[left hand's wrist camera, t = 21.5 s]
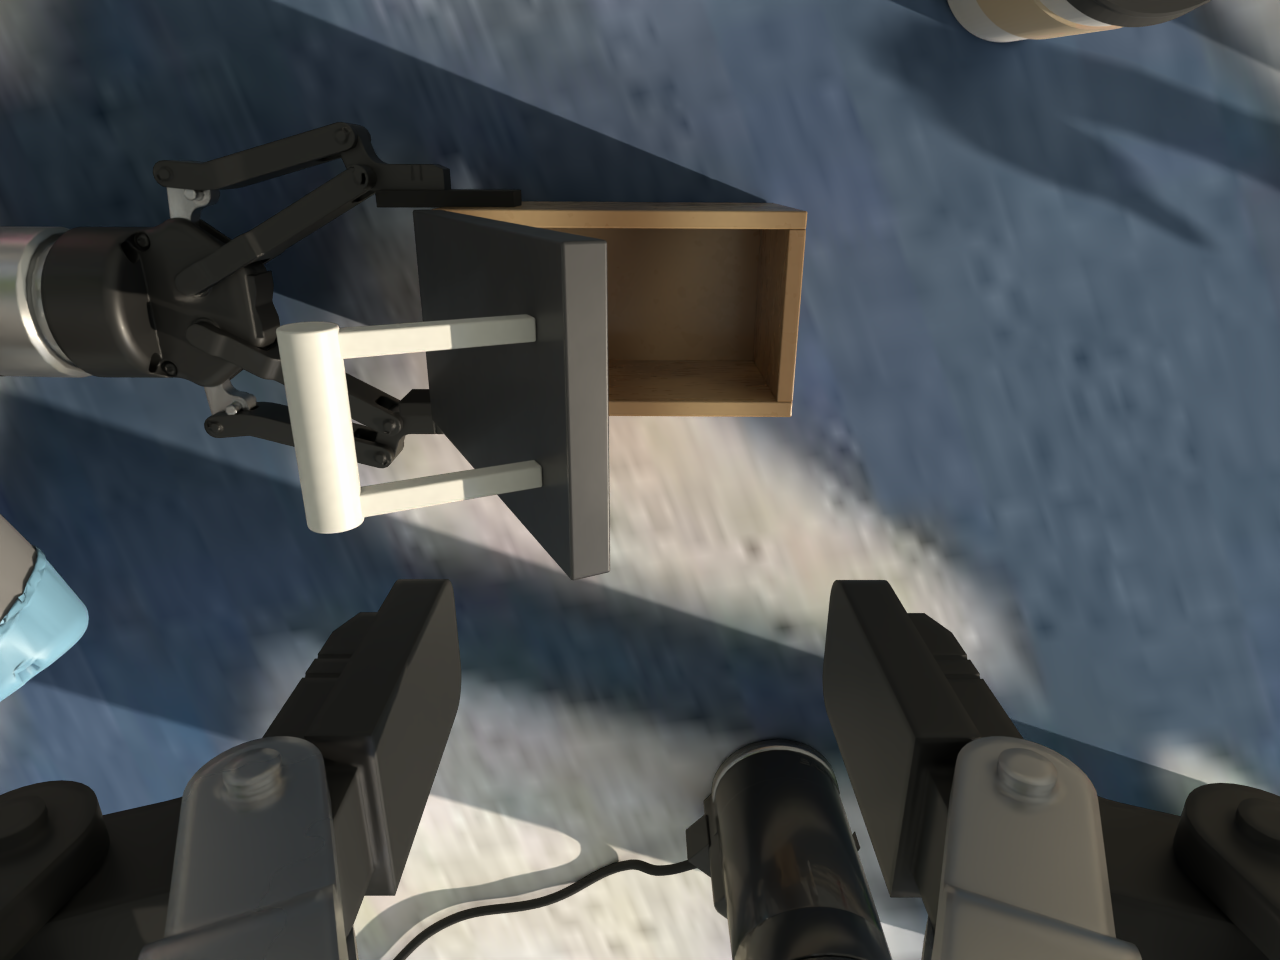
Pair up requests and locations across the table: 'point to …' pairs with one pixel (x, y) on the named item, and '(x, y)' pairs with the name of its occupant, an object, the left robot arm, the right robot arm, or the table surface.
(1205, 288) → the table surface
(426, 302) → the lid
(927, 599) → the table surface
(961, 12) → the coffee cup
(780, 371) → the chest
